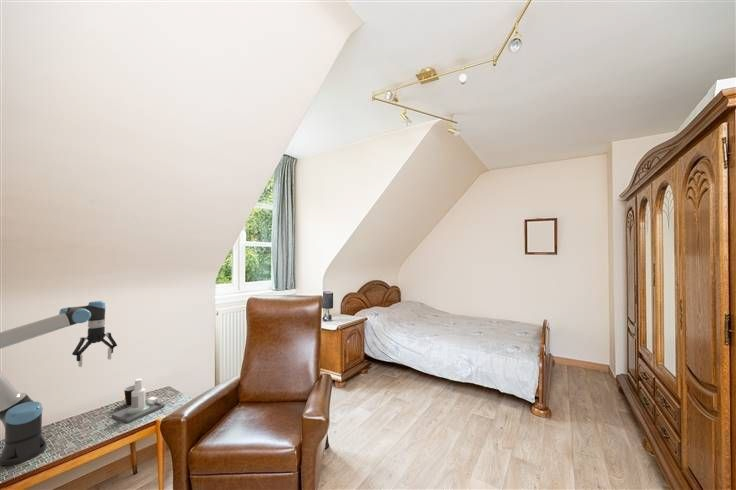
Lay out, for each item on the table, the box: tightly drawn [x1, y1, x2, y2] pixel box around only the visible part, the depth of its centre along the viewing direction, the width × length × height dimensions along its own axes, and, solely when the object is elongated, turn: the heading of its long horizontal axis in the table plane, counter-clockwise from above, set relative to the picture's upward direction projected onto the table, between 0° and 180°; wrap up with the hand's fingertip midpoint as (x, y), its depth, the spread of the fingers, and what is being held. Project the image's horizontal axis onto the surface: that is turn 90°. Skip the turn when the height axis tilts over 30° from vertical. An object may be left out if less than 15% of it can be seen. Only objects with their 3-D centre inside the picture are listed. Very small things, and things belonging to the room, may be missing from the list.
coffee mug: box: [123, 384, 135, 406], centre depth 193 cm, size 12×9×10 cm
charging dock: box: [110, 396, 165, 424], centre depth 181 cm, size 20×18×4 cm
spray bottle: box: [130, 377, 146, 412], centre depth 181 cm, size 7×7×18 cm
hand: (95, 362), depth 175 cm, fingers open, 13 cm apart
